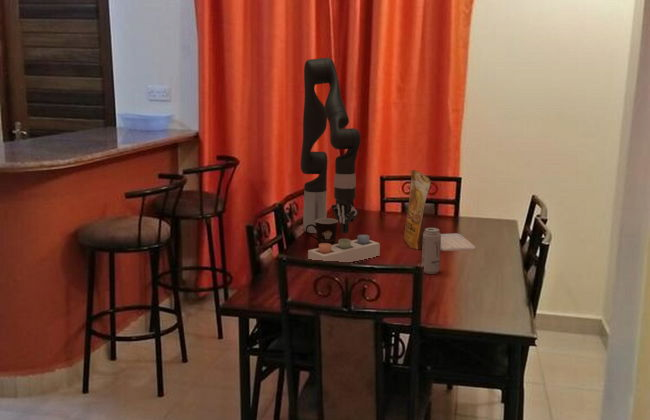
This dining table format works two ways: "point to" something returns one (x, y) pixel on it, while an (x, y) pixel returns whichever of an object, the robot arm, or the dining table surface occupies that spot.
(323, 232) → the coffee mug
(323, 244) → the button terracotta
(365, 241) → the button slate
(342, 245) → the button sage
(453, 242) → the calculator
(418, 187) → the pancake mix bag
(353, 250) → the console
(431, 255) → the energy drink can
